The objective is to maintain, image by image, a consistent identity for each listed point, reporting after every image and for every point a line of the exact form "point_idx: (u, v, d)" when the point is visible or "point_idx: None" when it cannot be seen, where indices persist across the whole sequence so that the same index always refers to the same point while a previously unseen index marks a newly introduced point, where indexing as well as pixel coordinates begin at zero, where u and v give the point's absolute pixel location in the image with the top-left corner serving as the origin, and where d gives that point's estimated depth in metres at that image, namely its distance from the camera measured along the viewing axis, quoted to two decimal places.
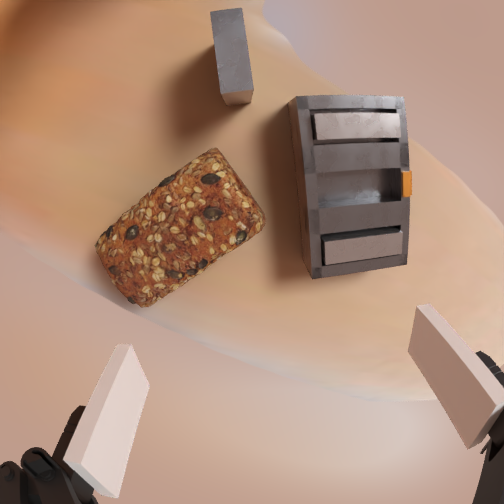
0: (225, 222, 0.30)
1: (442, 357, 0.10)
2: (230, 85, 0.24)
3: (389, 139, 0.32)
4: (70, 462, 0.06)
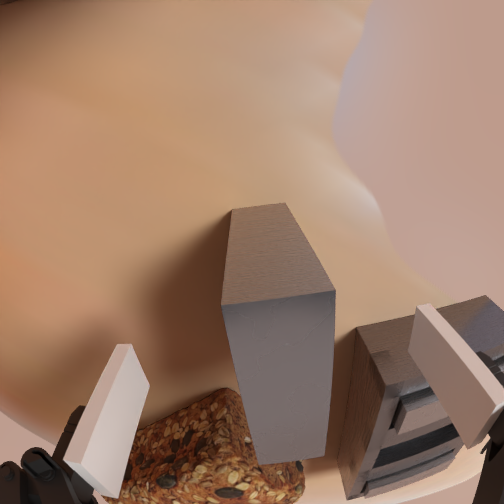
0: None
1: (442, 357, 0.10)
2: (279, 456, 0.11)
3: None
4: (70, 462, 0.06)
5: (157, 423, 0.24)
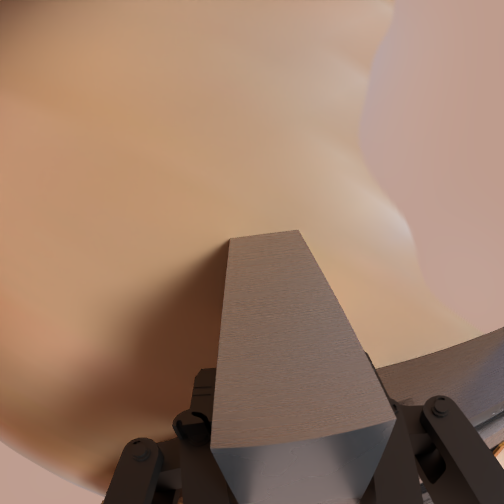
0: None
1: None
2: None
3: None
4: None
5: None
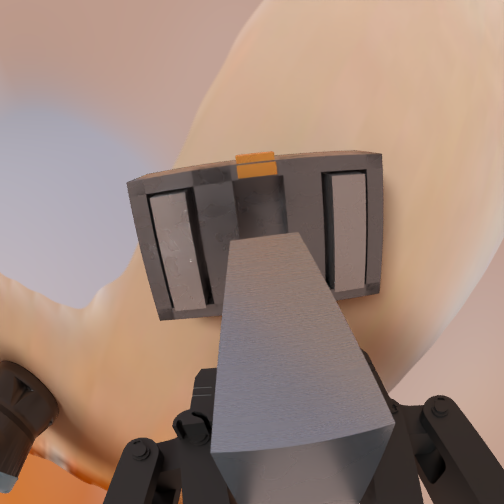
0: None
1: None
2: None
3: None
4: None
5: None
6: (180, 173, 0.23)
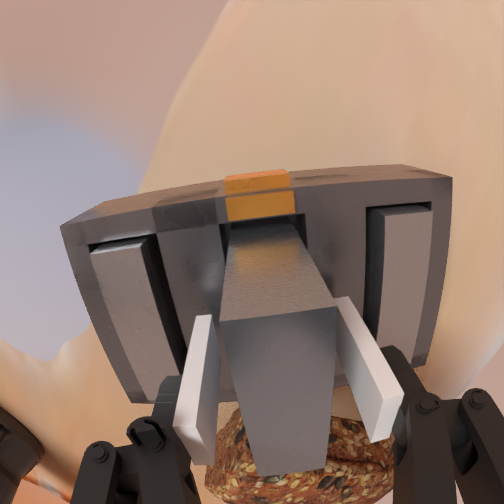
0: (263, 493, 0.19)
1: (349, 348, 0.12)
2: (278, 469, 0.10)
3: None
4: (181, 427, 0.08)
5: None
6: (134, 212, 0.13)
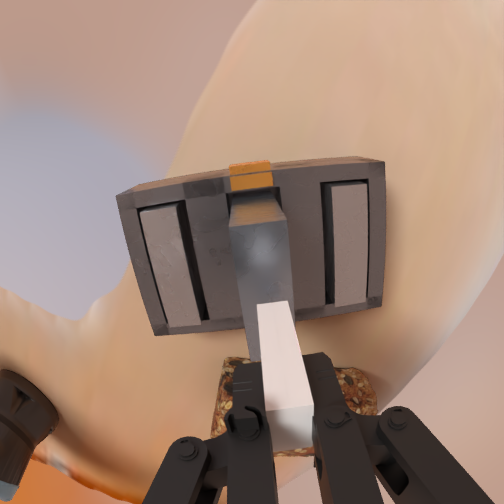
0: None
1: None
2: None
3: None
4: (274, 411, 0.08)
5: None
6: (171, 185, 0.21)
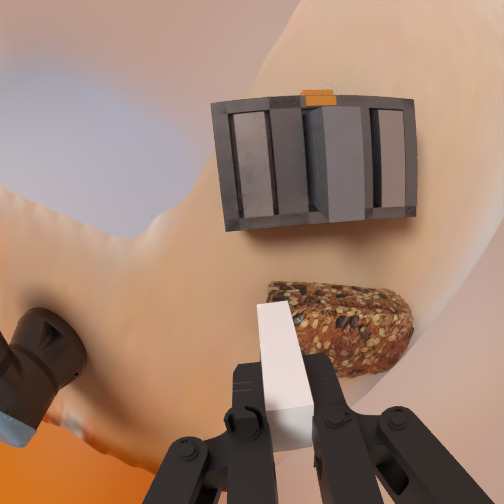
0: None
1: None
2: (340, 213, 0.23)
3: (265, 112, 0.29)
4: (274, 411, 0.08)
5: None
6: (259, 98, 0.26)
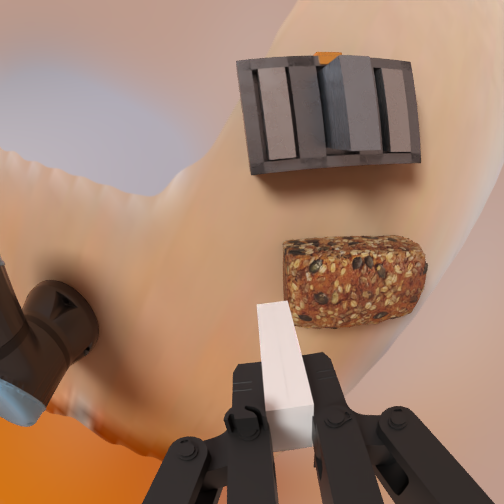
0: (317, 287, 0.34)
1: None
2: (360, 143, 0.24)
3: None
4: (274, 411, 0.08)
5: None
6: (278, 57, 0.27)
